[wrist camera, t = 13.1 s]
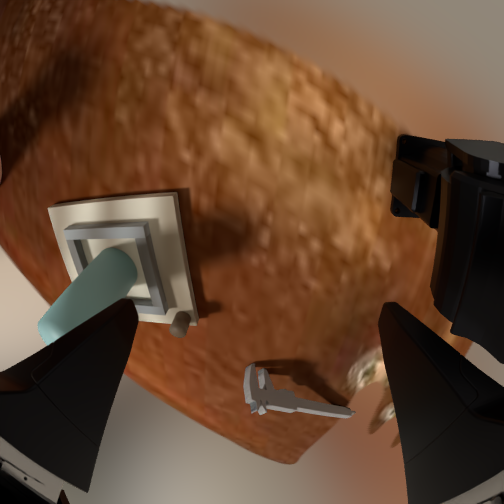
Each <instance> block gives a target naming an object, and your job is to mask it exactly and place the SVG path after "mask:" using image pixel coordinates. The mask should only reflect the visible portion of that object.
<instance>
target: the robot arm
mask: <svg viewBox="0 0 504 504" xmlns="http://www.w3.org/2000/svg"><path fill="white" fill-rule="evenodd" d="M404 138H405V139H406V142H405V144H403V143H402V140H403V139H404ZM390 192H391V193H392V200H391V208H390V211H391V213H392V214H393V215H394V216H396V217H413V218H421V219H422V220H423V221H424V222H425V223H426V224H427V225H428V226H429V227H430V228H434V229H435V230H436V231H437V232H438V236H437V245H436V252H435V259H434V266H433V272H432V277H431V284H430V288H431V291H432V295H433V298H434V306H435V307H436V308H437V310H438V311H439V312H440V313H441V314H442V315H443V316H444V317H445V318H447V319H448V320H449V321H450V322H452V323H453V324H452V327H451V329H450V332H451V334H454V335H457V336H461V337H465V338H468V339H470V340H472V341H474V342H475V343H477V344H479V345H481V346H482V347H483V348H484V349H486V350H487V351H488V352H489V353H490V354H491V355H492V356H494V358H496V359H497V360H498V361H499V362H500V363H502V364H504V144H503V143H500V142H494V141H483V140H465V139H445V142H442V141H437V140H432V139H427V138H422V137H416V136H410V135H404V134H402V135H400V136H399V137H398V139H397V151H396V159H395V160H394V161H393V171H392V181H391V190H390ZM396 208H399V209H398V211H397V212H395V209H396ZM138 322H139V316H138V313H137V310H136V307H135V304H134V301H133V300H132V299H130V298H121V299H119V300H118V301H116V302H115V303H113V304H111V305H110V306H108V307H107V308H105V309H103V310H102V311H100V312H99V313H97V314H95V315H94V316H92V317H91V318H89V319H88V320H86V321H84V322H83V323H81V324H80V325H78V326H77V327H75V328H74V329H72V330H70V331H69V332H67V333H66V334H64V335H63V336H61V337H60V338H58V339H57V340H55V341H54V342H52V343H50V344H49V345H47V346H46V347H44V348H43V349H41V350H40V351H38V352H37V353H35V354H33V355H31V356H30V357H28V358H26V359H24V360H23V361H21V362H19V363H17V364H16V365H14V366H12V367H10V368H8V369H7V370H5V371H2V372H0V504H70V503H69V501H68V499H67V497H66V495H65V492H64V490H62V486H63V483H64V481H65V482H67V483H69V484H70V485H72V486H74V487H76V488H78V489H80V490H82V491H84V492H86V493H88V491H89V487H90V483H91V478H92V475H93V470H94V467H95V463H96V459H97V455H98V451H99V447H100V443H101V440H102V437H103V433H104V430H105V426H106V423H107V420H108V416H109V413H110V410H111V407H112V404H113V401H114V398H115V395H116V392H117V389H118V386H119V383H120V380H121V377H122V375H123V372H124V369H125V366H126V364H127V361H128V358H129V355H130V352H131V348H132V344H133V340H134V336H135V333H136V329H137V325H138ZM378 327H379V333H380V339H381V346H382V352H383V359H384V364H385V369H386V373H387V377H388V381H389V385H390V390H391V394H392V399H393V403H394V408H395V413H396V418H397V423H398V428H399V434H400V440H401V446H402V453H403V459H404V468H405V475H406V484H407V495H408V504H443V503H444V504H504V387H503V386H501V385H500V384H499V383H497V382H496V381H495V380H493V379H492V378H490V377H489V376H487V375H486V374H485V373H484V372H482V371H481V370H480V369H478V368H477V367H476V366H475V365H473V364H472V363H471V362H470V361H468V360H467V359H466V358H465V357H464V356H463V355H460V353H459V352H458V351H456V350H455V349H454V348H453V347H452V346H450V345H449V344H448V343H447V342H446V341H444V340H443V339H442V338H441V337H439V336H438V335H437V334H436V333H434V332H433V331H432V330H431V329H430V328H428V327H427V326H426V325H424V324H423V323H422V322H421V321H419V320H418V319H417V318H416V317H414V316H413V315H412V314H411V313H409V312H408V311H407V310H405V309H404V308H403V307H401V306H400V305H399V304H398V303H396V302H385V303H384V304H383V307H382V311H381V314H380V317H379V321H378Z"/></svg>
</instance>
